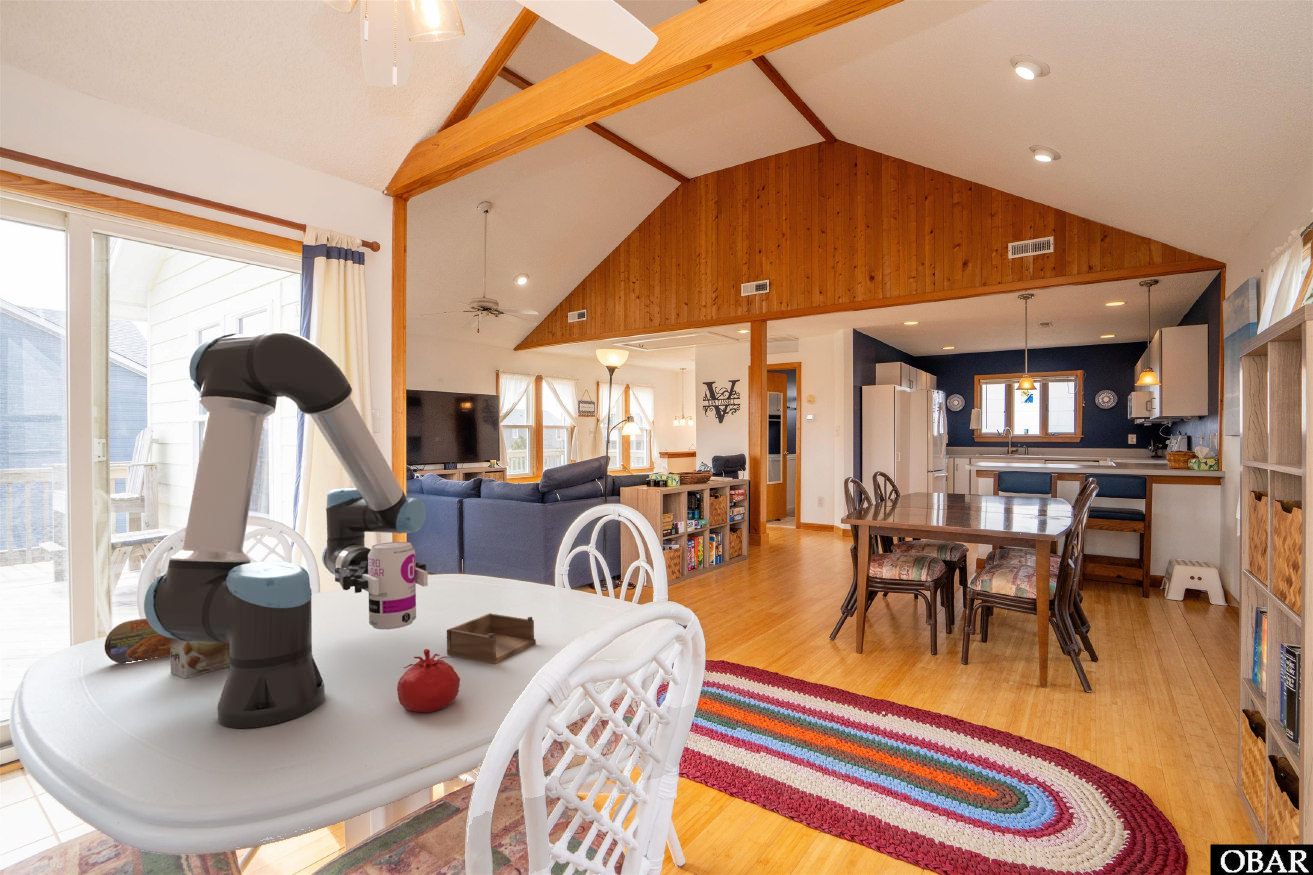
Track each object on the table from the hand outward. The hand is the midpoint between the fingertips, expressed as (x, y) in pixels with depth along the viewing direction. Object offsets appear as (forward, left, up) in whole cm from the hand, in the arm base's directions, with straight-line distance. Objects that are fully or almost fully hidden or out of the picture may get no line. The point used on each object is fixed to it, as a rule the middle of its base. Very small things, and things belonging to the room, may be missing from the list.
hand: (401, 582), depth 117 cm
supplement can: (+2, +4, -9) cm, 10 cm away
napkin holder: (+19, -5, -17) cm, 26 cm away
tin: (-14, +56, -18) cm, 61 cm away
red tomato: (-6, -14, -18) cm, 23 cm away
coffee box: (-13, +39, -18) cm, 45 cm away
